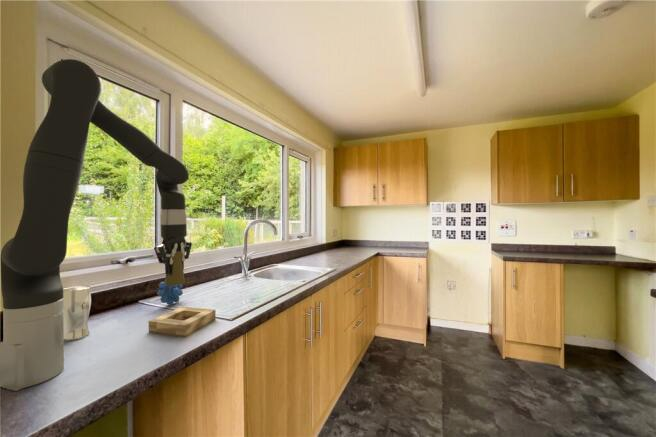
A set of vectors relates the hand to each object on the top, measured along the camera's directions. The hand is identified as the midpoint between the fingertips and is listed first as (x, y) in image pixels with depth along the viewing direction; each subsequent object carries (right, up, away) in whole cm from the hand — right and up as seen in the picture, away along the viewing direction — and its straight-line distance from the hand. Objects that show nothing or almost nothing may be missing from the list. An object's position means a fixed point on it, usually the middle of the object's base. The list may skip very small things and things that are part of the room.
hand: (175, 273), depth 88 cm
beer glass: (-26, -18, -8) cm, 33 cm away
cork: (0, -3, 0) cm, 3 cm away
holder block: (+3, -18, 0) cm, 18 cm away
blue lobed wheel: (-13, -18, +21) cm, 31 cm away
